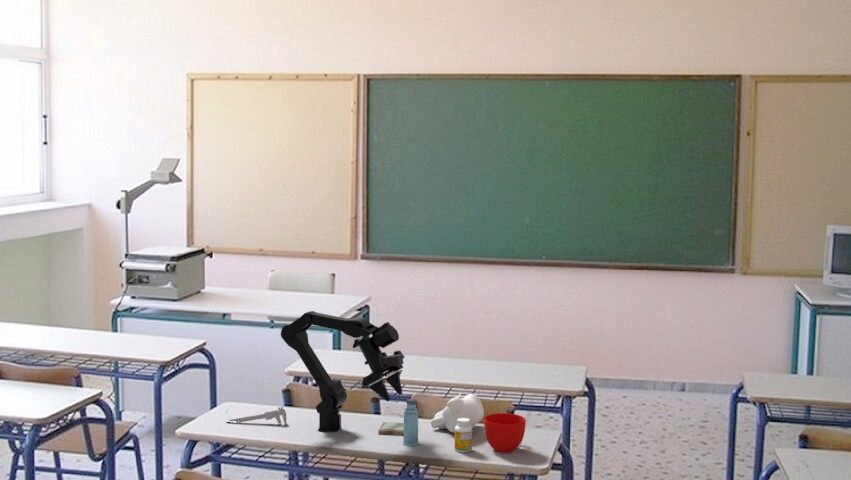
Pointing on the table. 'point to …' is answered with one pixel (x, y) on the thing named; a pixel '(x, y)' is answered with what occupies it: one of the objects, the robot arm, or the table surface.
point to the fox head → (459, 412)
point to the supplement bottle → (463, 435)
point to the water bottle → (411, 424)
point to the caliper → (264, 416)
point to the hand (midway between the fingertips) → (395, 397)
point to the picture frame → (391, 428)
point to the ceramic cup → (504, 431)
